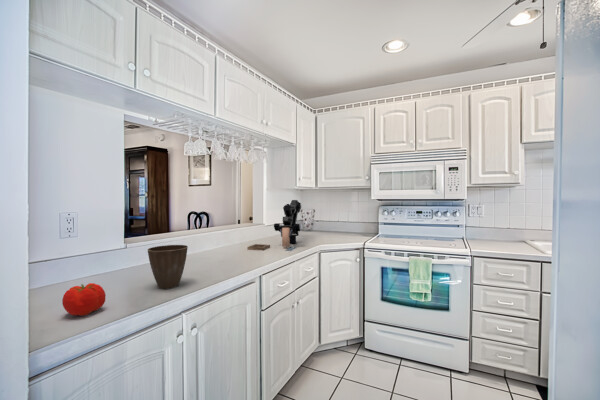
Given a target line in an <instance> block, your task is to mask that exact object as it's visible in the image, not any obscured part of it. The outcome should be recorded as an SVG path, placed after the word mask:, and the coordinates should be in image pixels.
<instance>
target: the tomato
mask: <svg viewBox="0 0 600 400" xmlns="http://www.w3.org/2000/svg"><path fill="white" fill-rule="evenodd" d="M106 297H107V296H106V292H105V290H104V288H103V286H101V285H100V284H96V283H94V282H93V283H91V282H90V283H89V282H88V284H86V285H84V284H83V283H81V284H80V285H75V286H72V287H70V288H69V289H67V290H66V291H65V292H64V294H63V296H62V299H61V300H62V306H63V309H64V310H65V311H66V312H67V313H68V314H69V315H71V316H77V317H78V316H81V317H82V316H87V315H89V314H90V313H92V312H95V311H97V310H99V309H101V308H102V307H103V306H104V305H105V303H106Z"/></svg>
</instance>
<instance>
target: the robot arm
mask: <svg viewBox="0 0 600 400" xmlns="http://www.w3.org/2000/svg"><path fill="white" fill-rule="evenodd" d="M282 209H283V213H284V215H285V216H282V224H280V222H279V223H274V224H273V228H274V231H275V232H280V237H281V238H282V228H284V227H288V228H289V230H290V233H289V237H290V244H291V245H295V244H298V242H297V237H298V236H299V232H300V231H301V226H300V223H297V219H298V214H299V213H300V212H301V210H302V203H301V202H299V200H297V199H292V200H291V202H290V204H289V203H286V205H284V206H283V207H282Z"/></svg>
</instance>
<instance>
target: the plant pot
mask: <svg viewBox="0 0 600 400" xmlns="http://www.w3.org/2000/svg"><path fill="white" fill-rule="evenodd" d="M147 255H148V260H149V263H150V264H149V265H150V270H151V272H152V274H153V277H154V280H155V282H156V283H155V284H157V285H156V286H157V287H158V288H159V289H161V290H169V289H174V288H177V287H178V286H179V284H180V282H181V279H182V276H183V273H184V269H185V265H186V261H187V255H188V245H185V244H168V245H167V244H166V245H165V244H164V245H158V246H153V247H150V248H147Z"/></svg>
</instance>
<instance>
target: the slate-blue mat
mask: <svg viewBox="0 0 600 400" xmlns="http://www.w3.org/2000/svg"><path fill="white" fill-rule="evenodd" d="M295 249H296V247H295V246H291V247H290V246H289V247H287V249H285V250H284V251H285V252H286V251H289V252H291V251H293V250H295Z"/></svg>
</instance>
